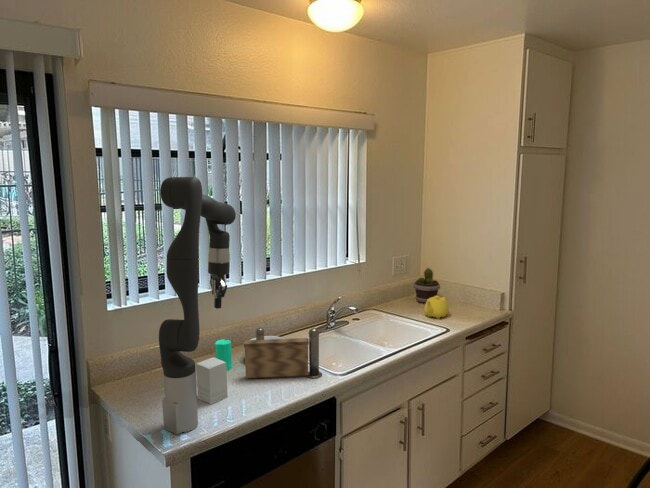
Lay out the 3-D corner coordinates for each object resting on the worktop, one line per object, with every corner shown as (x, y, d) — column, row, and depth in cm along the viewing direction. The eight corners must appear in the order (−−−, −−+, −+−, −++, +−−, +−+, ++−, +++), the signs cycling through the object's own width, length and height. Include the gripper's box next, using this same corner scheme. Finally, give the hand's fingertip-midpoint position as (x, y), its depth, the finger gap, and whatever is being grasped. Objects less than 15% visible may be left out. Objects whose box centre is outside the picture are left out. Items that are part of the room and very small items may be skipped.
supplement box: (228, 397, 172) (227, 362, 170) (210, 405, 167) (208, 368, 164) (215, 390, 177) (213, 356, 175) (197, 398, 171) (195, 362, 169)
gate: (308, 371, 191) (307, 337, 189) (308, 375, 187) (308, 341, 185) (245, 374, 188) (244, 340, 186) (245, 378, 185) (244, 343, 183)
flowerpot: (434, 306, 276) (436, 271, 273) (408, 302, 284) (409, 268, 281) (443, 300, 289) (444, 266, 285) (418, 296, 297) (419, 263, 293)
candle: (228, 371, 193) (227, 341, 191) (213, 370, 194) (212, 340, 192) (234, 365, 199) (233, 336, 197) (219, 364, 200) (218, 335, 198)
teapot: (435, 323, 249) (436, 301, 247) (416, 318, 257) (417, 297, 255) (454, 314, 262) (454, 294, 260) (435, 310, 270) (436, 291, 268)
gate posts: (321, 378, 186) (321, 331, 183) (252, 378, 187) (251, 330, 184) (322, 370, 193) (322, 324, 190) (255, 370, 194) (254, 324, 191)
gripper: (203, 258, 185) (202, 305, 186) (214, 263, 174) (213, 312, 175) (223, 258, 189) (221, 303, 190) (235, 262, 177) (233, 311, 179)
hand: (217, 308), depth 183 cm, fingers closed
